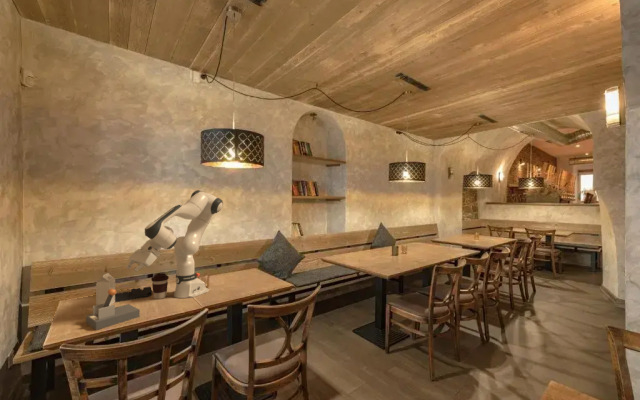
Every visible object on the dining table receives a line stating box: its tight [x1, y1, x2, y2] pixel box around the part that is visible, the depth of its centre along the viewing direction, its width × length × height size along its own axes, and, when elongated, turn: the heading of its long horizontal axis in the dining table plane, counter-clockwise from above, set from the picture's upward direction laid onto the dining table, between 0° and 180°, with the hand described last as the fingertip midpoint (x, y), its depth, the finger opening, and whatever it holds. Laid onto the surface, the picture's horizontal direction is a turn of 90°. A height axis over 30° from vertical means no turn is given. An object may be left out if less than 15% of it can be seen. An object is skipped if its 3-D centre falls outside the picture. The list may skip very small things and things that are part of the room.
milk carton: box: [95, 272, 116, 306], centre depth 179 cm, size 7×7×19 cm
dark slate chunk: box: [115, 286, 153, 303], centre depth 194 cm, size 15×22×5 cm
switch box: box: [85, 303, 141, 331], centre depth 158 cm, size 20×14×9 cm
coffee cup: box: [150, 273, 170, 300], centre depth 193 cm, size 10×10×15 cm
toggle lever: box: [103, 289, 118, 308], centre depth 156 cm, size 3×3×12 cm
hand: (131, 269), depth 165 cm, fingers open, 8 cm apart
